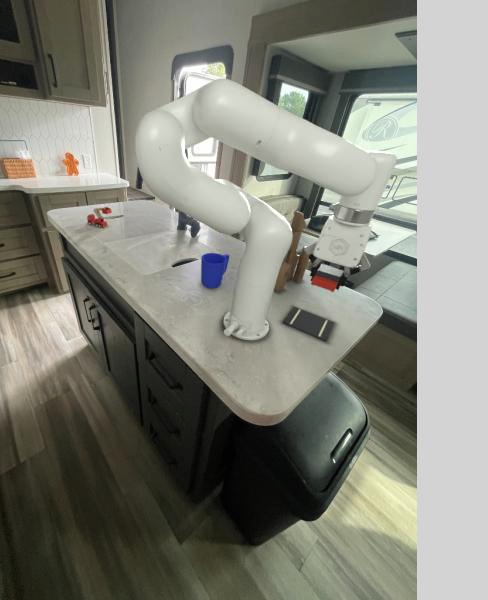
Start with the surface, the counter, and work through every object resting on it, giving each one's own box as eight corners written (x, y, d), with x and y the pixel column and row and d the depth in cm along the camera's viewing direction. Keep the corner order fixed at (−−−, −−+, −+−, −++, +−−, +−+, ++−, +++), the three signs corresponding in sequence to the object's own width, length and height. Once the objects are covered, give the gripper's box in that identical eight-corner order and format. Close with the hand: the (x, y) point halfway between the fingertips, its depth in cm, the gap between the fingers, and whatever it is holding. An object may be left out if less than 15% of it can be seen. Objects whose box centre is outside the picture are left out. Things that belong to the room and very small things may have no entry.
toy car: (339, 281, 72) (318, 274, 74) (345, 268, 69) (323, 261, 72) (332, 294, 66) (310, 286, 69) (338, 280, 64) (315, 272, 66)
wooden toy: (278, 293, 90) (300, 220, 76) (262, 284, 94) (280, 213, 80) (303, 280, 98) (327, 212, 84) (287, 273, 102) (308, 206, 88)
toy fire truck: (91, 222, 134) (88, 202, 129) (113, 227, 130) (111, 207, 124) (86, 223, 132) (83, 203, 126) (108, 229, 127) (106, 209, 122)
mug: (234, 281, 95) (238, 255, 89) (212, 293, 87) (216, 266, 82) (216, 272, 99) (219, 247, 94) (194, 283, 92) (196, 257, 86)
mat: (325, 341, 72) (326, 340, 71) (282, 323, 77) (283, 321, 77) (333, 323, 79) (334, 322, 78) (293, 307, 84) (294, 306, 84)
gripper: (309, 209, 61) (288, 277, 71) (396, 228, 53) (358, 302, 64) (318, 203, 66) (297, 267, 76) (398, 219, 58) (363, 289, 69)
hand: (325, 282), depth 70 cm, fingers closed on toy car, 5 cm apart
